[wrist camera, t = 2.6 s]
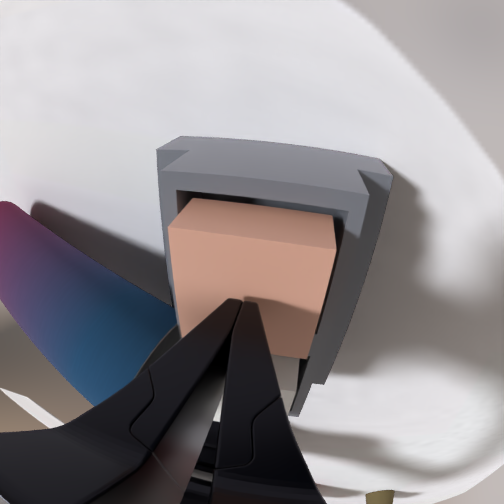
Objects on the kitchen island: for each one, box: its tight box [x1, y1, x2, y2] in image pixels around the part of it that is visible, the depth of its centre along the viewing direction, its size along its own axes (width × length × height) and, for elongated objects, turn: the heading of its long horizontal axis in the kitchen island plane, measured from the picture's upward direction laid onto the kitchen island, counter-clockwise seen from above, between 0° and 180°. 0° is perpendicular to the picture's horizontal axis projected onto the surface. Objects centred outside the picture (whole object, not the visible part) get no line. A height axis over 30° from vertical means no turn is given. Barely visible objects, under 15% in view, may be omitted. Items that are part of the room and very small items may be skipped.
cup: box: [0, 201, 180, 406], centre depth 14 cm, size 7×7×15 cm
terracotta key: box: [168, 198, 336, 359], centre depth 10 cm, size 4×4×2 cm
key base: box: [156, 136, 393, 417], centre depth 14 cm, size 13×9×5 cm
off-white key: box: [213, 354, 300, 422], centre depth 13 cm, size 4×4×2 cm
